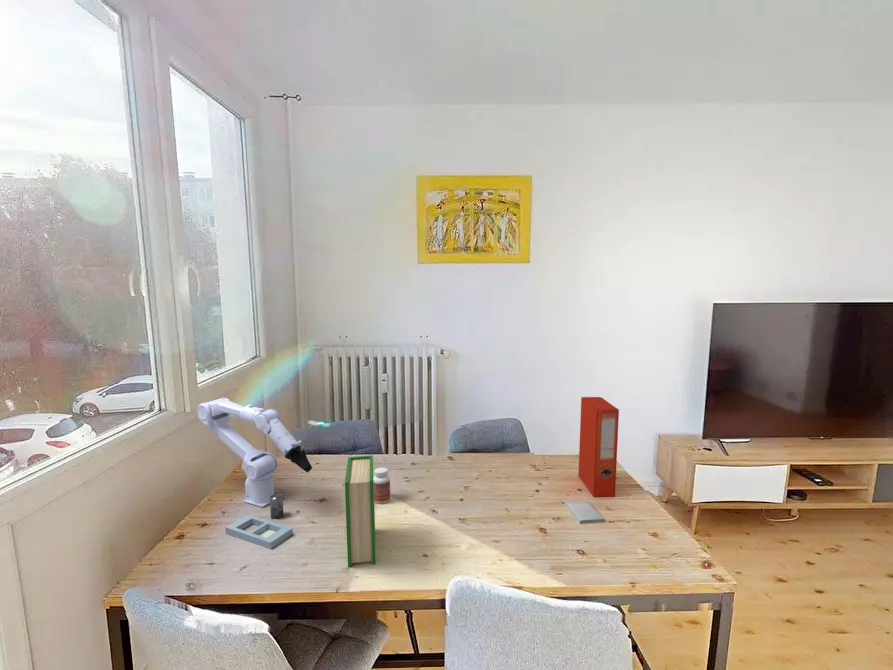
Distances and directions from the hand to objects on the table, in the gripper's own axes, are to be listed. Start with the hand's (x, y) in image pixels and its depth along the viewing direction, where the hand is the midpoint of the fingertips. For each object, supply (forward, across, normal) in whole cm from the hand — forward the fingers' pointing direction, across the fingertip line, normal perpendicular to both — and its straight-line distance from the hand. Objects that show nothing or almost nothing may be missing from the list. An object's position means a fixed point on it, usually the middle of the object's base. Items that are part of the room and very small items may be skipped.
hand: (308, 469), depth 148 cm
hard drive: (+74, -6, -56) cm, 93 cm away
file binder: (+75, +9, -72) cm, 105 cm away
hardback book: (+31, -13, +2) cm, 34 cm away
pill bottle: (+24, +11, -11) cm, 29 cm away
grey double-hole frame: (+6, -3, +22) cm, 23 cm away
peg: (+4, +6, +17) cm, 18 cm away
